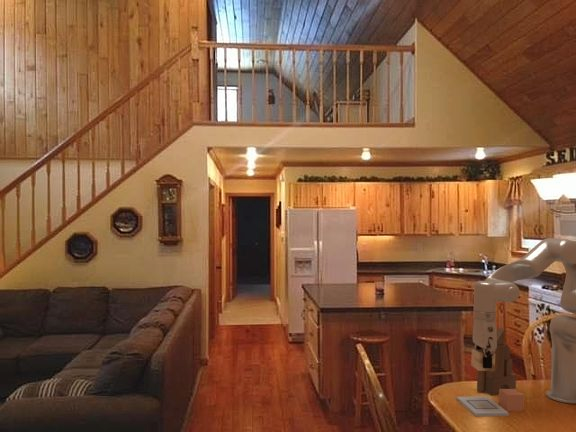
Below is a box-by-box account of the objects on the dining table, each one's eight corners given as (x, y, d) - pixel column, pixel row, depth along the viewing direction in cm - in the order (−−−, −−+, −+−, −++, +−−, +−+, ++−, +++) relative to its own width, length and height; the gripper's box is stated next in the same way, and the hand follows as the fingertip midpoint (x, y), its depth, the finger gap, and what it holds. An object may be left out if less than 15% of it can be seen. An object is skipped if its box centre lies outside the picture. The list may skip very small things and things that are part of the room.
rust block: (514, 405, 191) (514, 388, 191) (523, 411, 185) (523, 394, 185) (498, 405, 191) (499, 389, 191) (507, 411, 185) (507, 394, 185)
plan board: (487, 399, 196) (487, 396, 196) (508, 415, 181) (509, 412, 180) (456, 399, 195) (456, 396, 195) (475, 416, 179) (475, 413, 179)
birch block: (486, 365, 191) (487, 349, 191) (494, 370, 185) (495, 353, 185) (471, 365, 190) (471, 349, 190) (478, 370, 184) (479, 353, 184)
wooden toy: (501, 385, 213) (503, 324, 212) (516, 390, 207) (517, 327, 206) (475, 390, 205) (476, 327, 205) (488, 396, 200) (490, 331, 199)
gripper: (506, 320, 179) (505, 372, 179) (483, 310, 196) (481, 358, 197) (485, 320, 179) (484, 372, 179) (464, 310, 196) (462, 358, 196)
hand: (482, 364), depth 188 cm, fingers closed on birch block, 6 cm apart
